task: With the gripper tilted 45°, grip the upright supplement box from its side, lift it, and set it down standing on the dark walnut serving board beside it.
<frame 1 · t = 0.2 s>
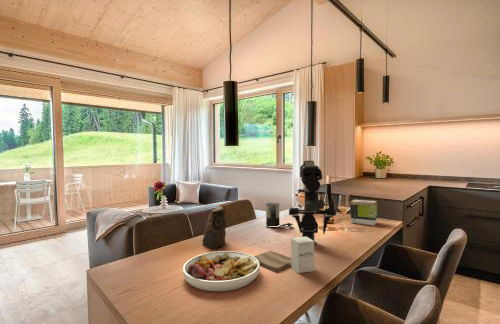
hand: (312, 233, 117), 15 cm above the table, tool tilted 15°, fingers open, 9 cm apart
supplement box: (302, 269, 119), on the table
milk frother: (279, 227, 184), on the table
walnut board: (273, 262, 127), on the table
owl: (214, 245, 151), on the table
tea box: (363, 223, 191), on the table
bowl: (222, 277, 114), on the table
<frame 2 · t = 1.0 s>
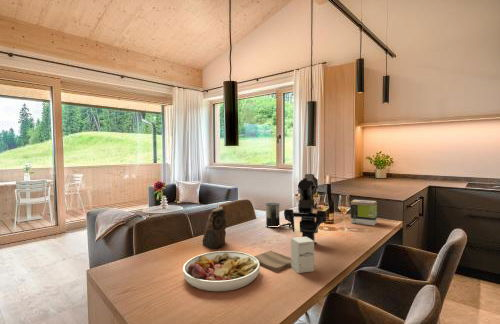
hand: (304, 232, 126), 13 cm above the table, tool tilted 45°, fingers open, 9 cm apart
nothing on the table moved.
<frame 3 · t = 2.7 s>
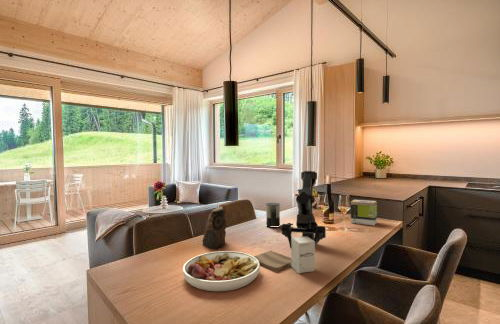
hand: (302, 248, 119), 8 cm above the table, tool tilted 45°, fingers open, 9 cm apart
supplement box: (302, 269, 119), on the table, touching gripper
everything else where it was.
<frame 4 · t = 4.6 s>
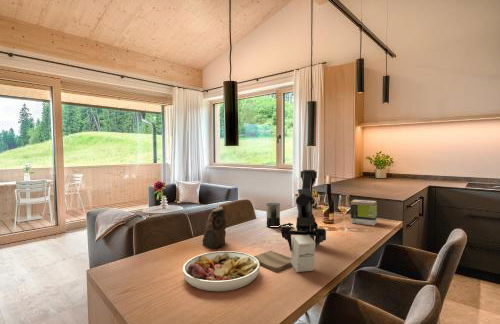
hand: (302, 252, 117), 8 cm above the table, tool tilted 45°, fingers closed on supplement box, 9 cm apart
supplement box: (301, 267, 119), point 1 cm above the table, touching gripper
everything else where it was.
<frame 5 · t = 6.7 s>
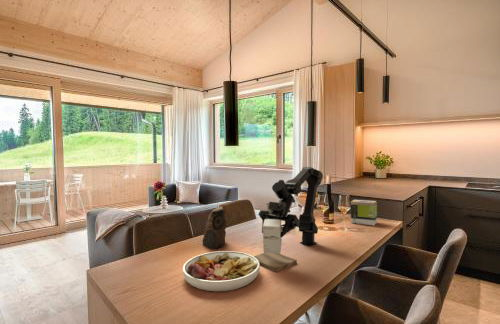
hand: (271, 235, 123), 13 cm above the table, tool tilted 45°, fingers closed on supplement box, 9 cm apart
supplement box: (272, 249, 124), point 6 cm above the table, touching gripper
everything else where it was.
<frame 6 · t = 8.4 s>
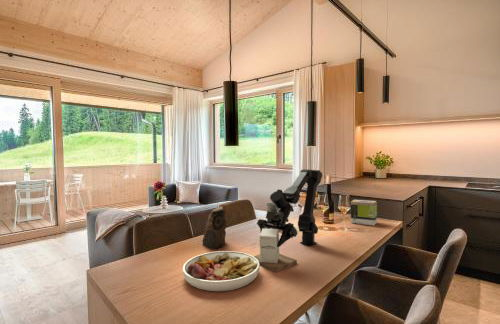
hand: (268, 244, 124), 9 cm above the table, tool tilted 45°, fingers closed on supplement box, 9 cm apart
supplement box: (270, 258, 125), point 2 cm above the table, touching gripper, walnut board
everything else where it was.
when the fingers open (9 cm above the table, at t = 9.9 s): supplement box stays where it is, point 1 cm above the table.
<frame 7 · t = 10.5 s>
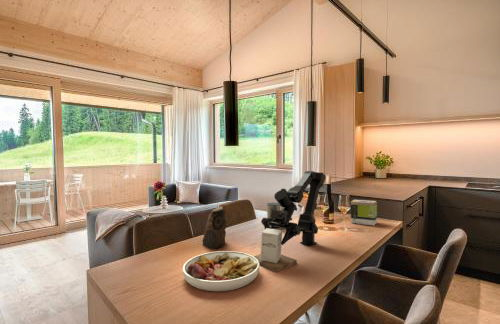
hand: (272, 242, 126), 9 cm above the table, tool tilted 45°, fingers open, 9 cm apart
supplement box: (270, 259, 126), point 1 cm above the table, touching gripper
everything else where it was.
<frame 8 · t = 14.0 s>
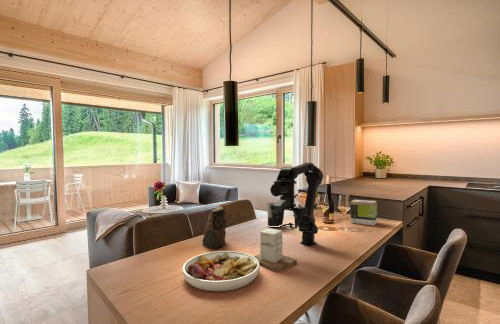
hand: (288, 226, 137), 13 cm above the table, tool pointing down, fingers open, 9 cm apart
supplement box: (271, 259, 126), point 1 cm above the table, touching walnut board
everything else where it was.
at the end: supplement box inside the target area on the walnut board (0.7 cm from its centre), point 1.3 cm above the walnut board's base; supplement box tilted 0°; the gripper is holding nothing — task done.
